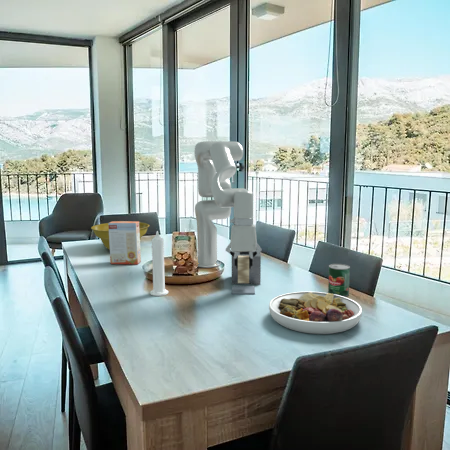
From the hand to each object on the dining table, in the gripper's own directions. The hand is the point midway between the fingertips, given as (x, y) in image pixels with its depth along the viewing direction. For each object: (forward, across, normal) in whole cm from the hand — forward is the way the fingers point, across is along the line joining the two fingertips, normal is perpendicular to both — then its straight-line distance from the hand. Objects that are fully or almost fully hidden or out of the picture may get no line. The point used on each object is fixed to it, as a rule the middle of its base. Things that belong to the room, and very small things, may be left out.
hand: (243, 267), depth 179 cm
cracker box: (+10, -59, +43) cm, 73 cm away
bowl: (+10, +24, -29) cm, 39 cm away
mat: (+10, 0, 0) cm, 10 cm away
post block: (+10, +1, +15) cm, 17 cm away
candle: (+10, -33, -4) cm, 35 cm away
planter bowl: (+9, -70, +75) cm, 103 cm away
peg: (+6, 0, 0) cm, 6 cm away
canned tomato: (+10, +37, -2) cm, 38 cm away
